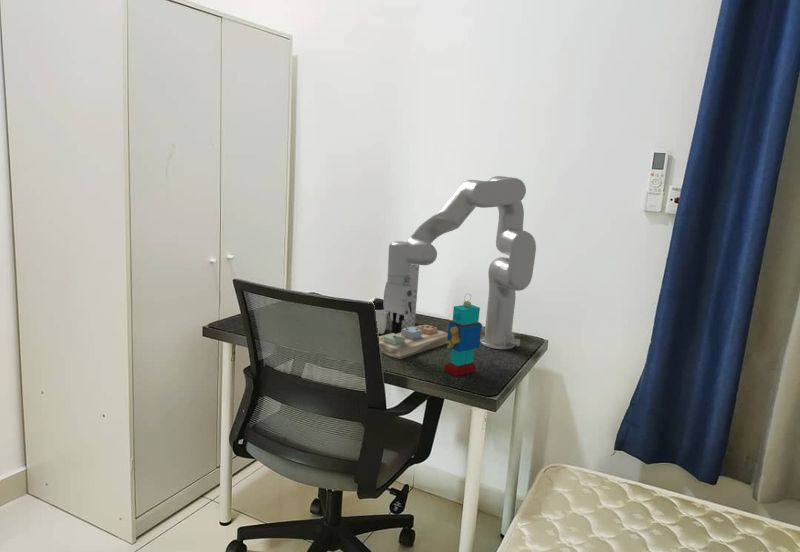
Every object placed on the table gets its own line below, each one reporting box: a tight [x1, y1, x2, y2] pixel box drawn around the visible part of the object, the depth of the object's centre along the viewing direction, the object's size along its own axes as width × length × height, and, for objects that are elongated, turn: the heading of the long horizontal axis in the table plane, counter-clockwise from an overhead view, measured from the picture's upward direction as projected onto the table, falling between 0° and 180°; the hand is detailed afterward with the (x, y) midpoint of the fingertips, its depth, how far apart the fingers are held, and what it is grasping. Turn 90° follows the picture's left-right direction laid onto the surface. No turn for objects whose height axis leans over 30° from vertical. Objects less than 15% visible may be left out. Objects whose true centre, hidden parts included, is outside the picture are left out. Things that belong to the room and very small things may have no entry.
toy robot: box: [443, 293, 484, 377], centre depth 173 cm, size 12×6×25 cm, turn 127°
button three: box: [418, 324, 438, 335], centre depth 203 cm, size 5×5×3 cm
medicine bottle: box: [368, 297, 388, 335], centre depth 209 cm, size 7×7×12 cm
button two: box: [401, 327, 422, 340], centre depth 196 cm, size 5×5×3 cm
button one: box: [384, 334, 405, 346], centre depth 189 cm, size 5×5×3 cm
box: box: [402, 264, 420, 329], centre depth 217 cm, size 8×8×25 cm
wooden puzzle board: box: [378, 324, 448, 360], centre depth 196 cm, size 14×28×3 cm, turn 139°
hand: (396, 332), depth 189 cm, fingers closed
